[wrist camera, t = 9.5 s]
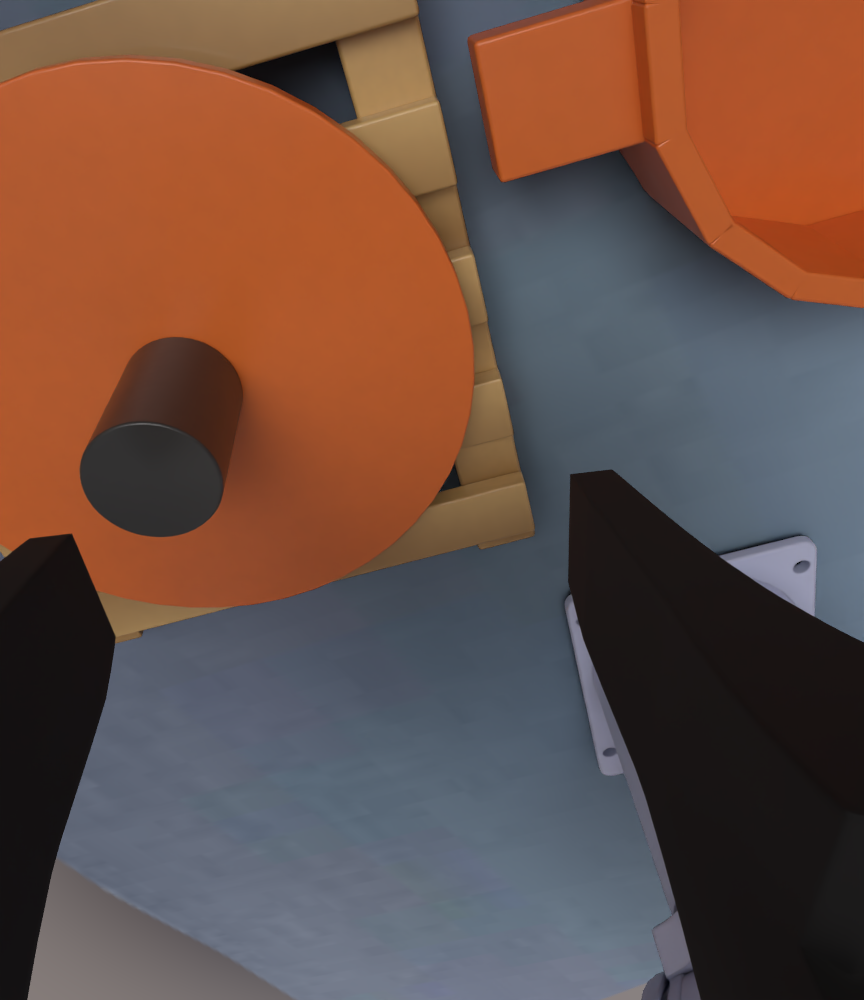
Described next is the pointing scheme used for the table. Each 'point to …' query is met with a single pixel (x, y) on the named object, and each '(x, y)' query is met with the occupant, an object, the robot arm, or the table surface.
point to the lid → (215, 334)
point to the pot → (701, 121)
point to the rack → (391, 136)
